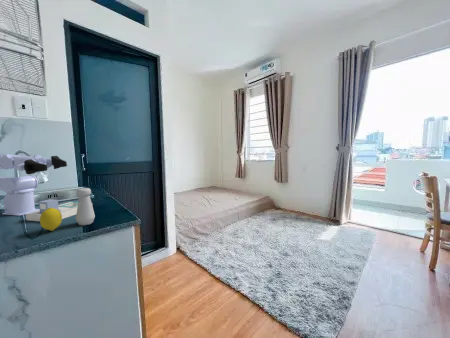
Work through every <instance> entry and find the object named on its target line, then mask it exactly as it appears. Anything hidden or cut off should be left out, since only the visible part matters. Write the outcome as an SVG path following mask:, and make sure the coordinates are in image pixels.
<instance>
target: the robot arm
mask: <svg viewBox="0 0 450 338" xmlns="http://www.w3.org/2000/svg"><path fill="white" fill-rule="evenodd" d="M52 166H53V170H57V169H60V168H65V167H67V166H68V163H67V161H66V160H63V159H61V158H60V157H59V156H58V155H51V156H50V158H49V157H44V156H42V154H39V153H38V154H34V155H33V156H31V155H29V156H27V155H23V154H10V153H7V154H6V153H5V154H2V153H1V154H0V170H10V169H11V170H12V169H16V170H17V171H19V172H22V171H25V174H27V175H24V176H17V177H16V176H15V177H14V176H12V177H11V176H0V191H4V192H5V193H6V194H5V195H4V197H3V206H4V207H3V208H4V212H2V214H1V215H8V216H24V215H26V214H27V213H31V212H35V211H38V210H40V209H39V208H36V207H35V196H34V191H36V189H37V188H38V186H39V180H38V178H37V177H36V176H35V175H33V174H36V173H38V172H39V173H40V172H46V171H48V169H49V168H51V167H52Z"/></svg>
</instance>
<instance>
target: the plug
mask: <svg viewBox="0 0 450 338" xmlns="http://www.w3.org/2000/svg"><path fill="white" fill-rule="evenodd" d="M58 205H59V199H51V198H49V199H45V200H41V201H38V207H39V208H38V209H40V214H42V213H43V212H44V211H45V210H47V209H48V208H50V207H52V208H55V209H57V210H59V207H58Z"/></svg>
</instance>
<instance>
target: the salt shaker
mask: <svg viewBox="0 0 450 338" xmlns="http://www.w3.org/2000/svg"><path fill="white" fill-rule="evenodd" d="M91 194H92V190H91V188H89V187H83V188H79V189H77V190H76V196H78V201H77V202H78V208H77V213H76V214H75V221H76V223H77V224H78V225H79V226H87V225H91V224H92V223H94V220H95V217H96V215H95V211H94V207H92V205H93V202H92V199H91V196H90V195H91Z"/></svg>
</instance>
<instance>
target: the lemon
mask: <svg viewBox="0 0 450 338" xmlns="http://www.w3.org/2000/svg"><path fill="white" fill-rule="evenodd" d="M62 221H63V219H62V215H61V213H60V211H59V210H57V209H55V208H52V207H50V208H48V209H47V210H45V211H44V212H43V213H42V214H41V216H40V221H39V223H40V226H41V227H42V228H43V229H44V230H49V231H51V232H53V231H55V229H57V228H58V227H60V226H61V224H62Z"/></svg>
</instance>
